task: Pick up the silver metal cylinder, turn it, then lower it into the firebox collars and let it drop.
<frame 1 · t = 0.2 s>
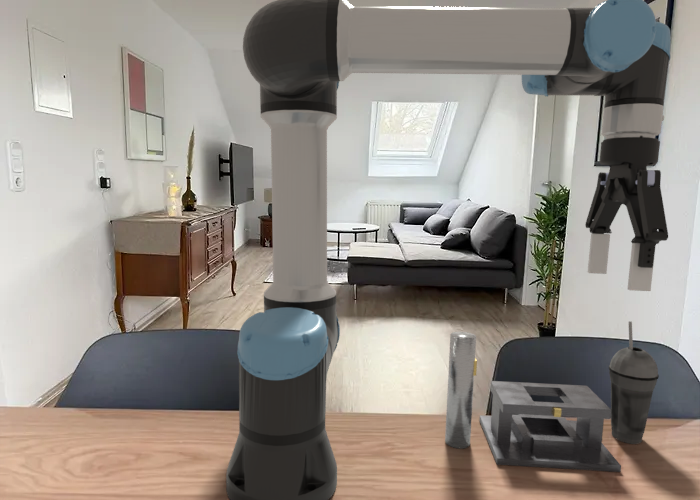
hand: (616, 281, 74), 28 cm above the table, fingers open, 13 cm apart
silver metal cylinder: (457, 442, 80), on the table
firebox collars: (543, 443, 80), on the table
beverage cup: (626, 438, 83), on the table
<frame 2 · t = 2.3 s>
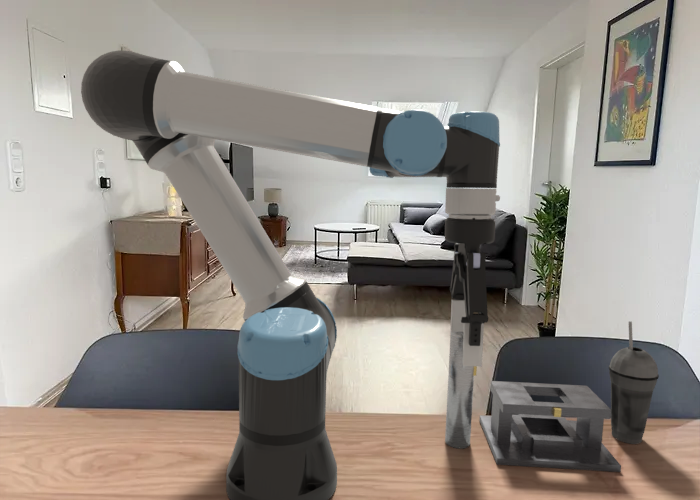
hand: (464, 350, 78), 16 cm above the table, fingers open, 13 cm apart
nothing on the table moved.
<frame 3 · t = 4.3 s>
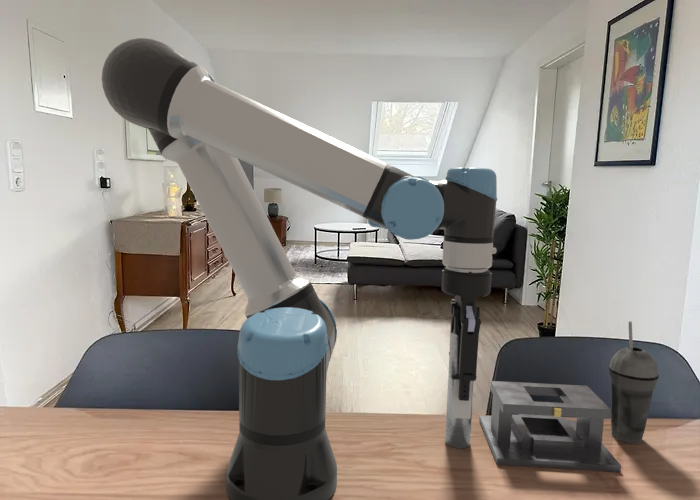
hand: (459, 410, 79), 5 cm above the table, fingers closed on silver metal cylinder, 4 cm apart
silver metal cylinder: (457, 442, 80), on the table, touching gripper
everything else where it was.
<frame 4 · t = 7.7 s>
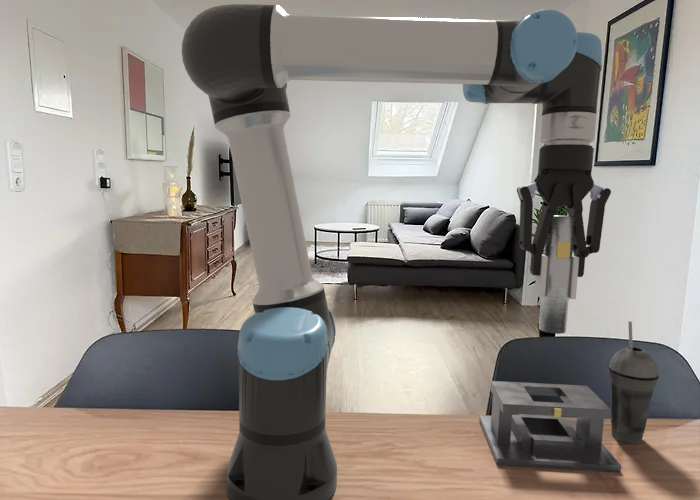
hand: (554, 296, 77), 25 cm above the table, fingers closed on silver metal cylinder, 4 cm apart
silver metal cylinder: (552, 329, 78), point 19 cm above the table, touching gripper
everything else where it was.
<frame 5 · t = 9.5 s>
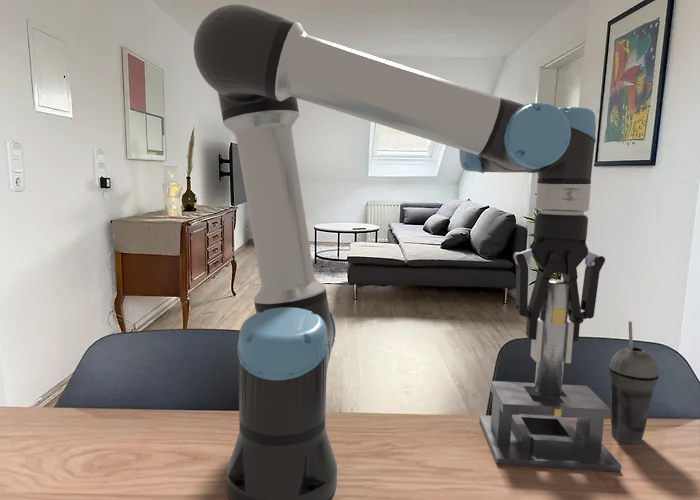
hand: (550, 359, 78), 14 cm above the table, fingers closed on silver metal cylinder, 4 cm apart
silver metal cylinder: (547, 391, 79), point 9 cm above the table, touching gripper
everything else where it was.
when the fingers open (10 cm above the table, at t = 11.0 s): silver metal cylinder drops 3 cm, resting on firebox collars.
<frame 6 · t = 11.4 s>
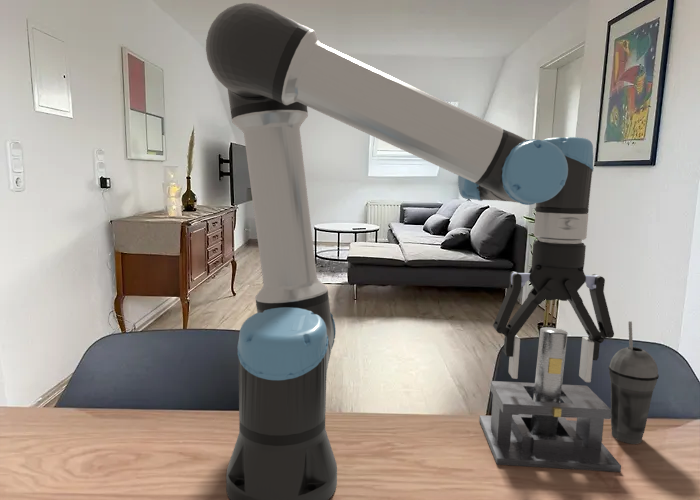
hand: (548, 377, 79), 11 cm above the table, fingers open, 10 cm apart
silver metal cylinder: (542, 437, 80), point 1 cm above the table, touching firebox collars
everything else where it was.
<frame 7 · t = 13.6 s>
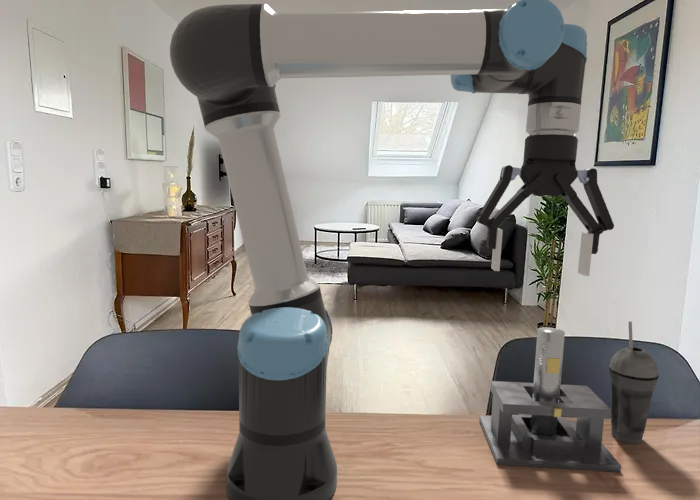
hand: (538, 272, 78), 28 cm above the table, fingers open, 13 cm apart
nothing on the table moved.
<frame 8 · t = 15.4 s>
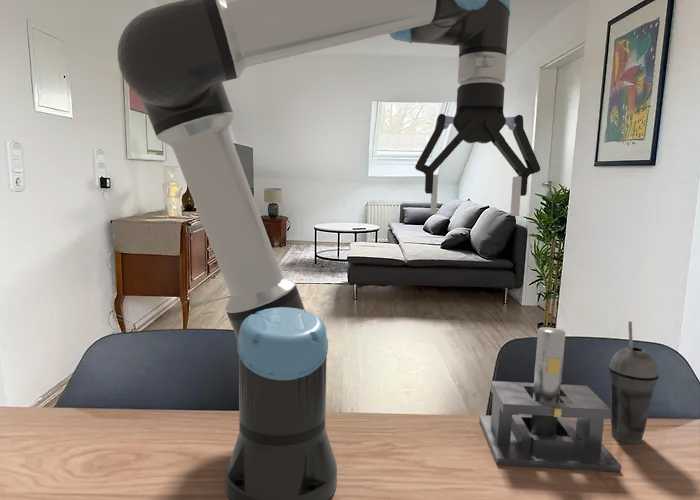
hand: (473, 214, 83), 37 cm above the table, fingers open, 13 cm apart
nothing on the table moved.
at the end: silver metal cylinder 0.2 cm off-centre on the firebox collars, point 1.1 cm above the firebox collars's base; silver metal cylinder tilted 2°; the gripper is holding nothing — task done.
